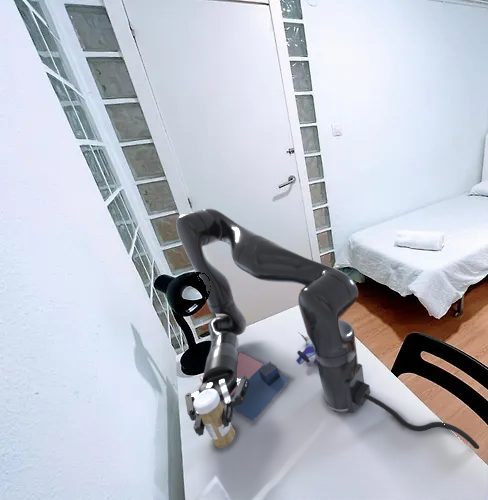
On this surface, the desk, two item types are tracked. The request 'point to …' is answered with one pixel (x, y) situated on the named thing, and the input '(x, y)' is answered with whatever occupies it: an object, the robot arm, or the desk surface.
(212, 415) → the sprinkles bottle
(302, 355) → the toy airplane
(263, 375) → the blue block
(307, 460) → the desk surface
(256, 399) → the sorting board
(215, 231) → the robot arm
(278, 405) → the desk surface
